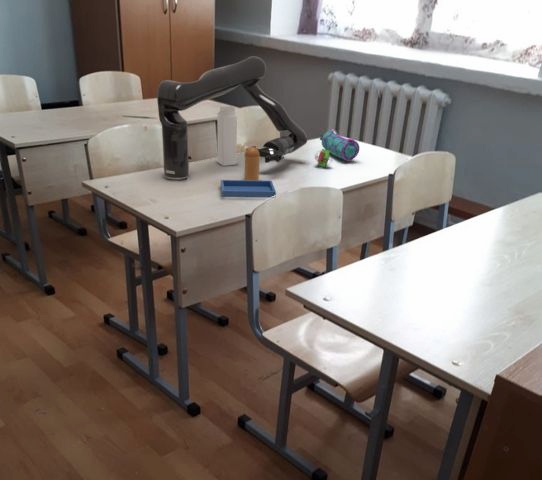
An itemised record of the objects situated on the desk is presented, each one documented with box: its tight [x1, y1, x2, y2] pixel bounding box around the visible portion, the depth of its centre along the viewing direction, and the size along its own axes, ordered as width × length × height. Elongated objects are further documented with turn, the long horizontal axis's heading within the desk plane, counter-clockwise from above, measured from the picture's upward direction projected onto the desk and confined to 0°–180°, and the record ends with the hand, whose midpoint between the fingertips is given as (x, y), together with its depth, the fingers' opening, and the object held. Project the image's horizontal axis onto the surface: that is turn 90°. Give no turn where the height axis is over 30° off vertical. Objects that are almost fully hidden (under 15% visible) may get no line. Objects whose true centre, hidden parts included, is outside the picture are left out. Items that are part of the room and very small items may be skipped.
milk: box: [216, 105, 238, 167], centre depth 237 cm, size 6×6×22 cm
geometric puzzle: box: [314, 148, 334, 168], centre depth 245 cm, size 7×7×8 cm
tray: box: [220, 179, 277, 198], centre depth 212 cm, size 13×19×3 cm
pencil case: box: [319, 129, 360, 162], centre depth 259 cm, size 21×9×10 cm, turn 24°
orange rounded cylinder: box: [243, 146, 260, 180], centre depth 221 cm, size 5×5×13 cm
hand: (255, 157), depth 222 cm, fingers open, 8 cm apart
